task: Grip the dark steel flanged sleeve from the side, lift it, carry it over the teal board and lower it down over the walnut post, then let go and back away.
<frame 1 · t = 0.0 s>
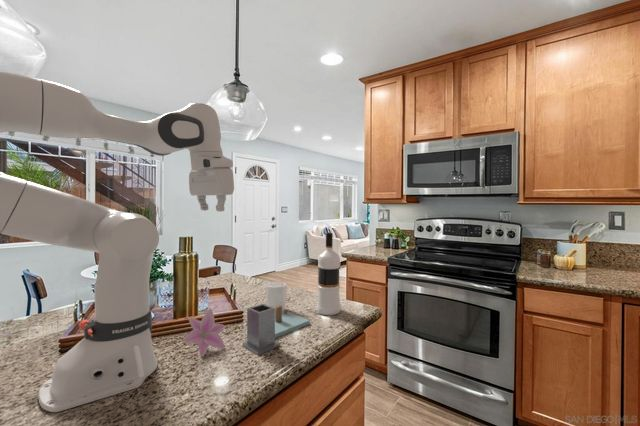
hand: (212, 210, 90), 39 cm above the counter, tool pointing down, fingers open, 8 cm apart
board: (278, 324, 103), on the counter
lily: (205, 349, 86), on the counter
vodka: (328, 312, 116), on the counter
white cup: (276, 310, 117), on the counter
sleeve: (261, 345, 88), on the counter
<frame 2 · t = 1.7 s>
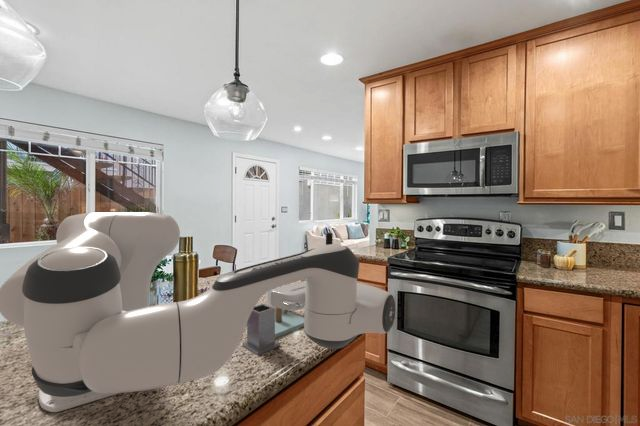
hand: (289, 284, 78), 20 cm above the counter, tool horizontal, fingers open, 8 cm apart
nothing on the counter moved.
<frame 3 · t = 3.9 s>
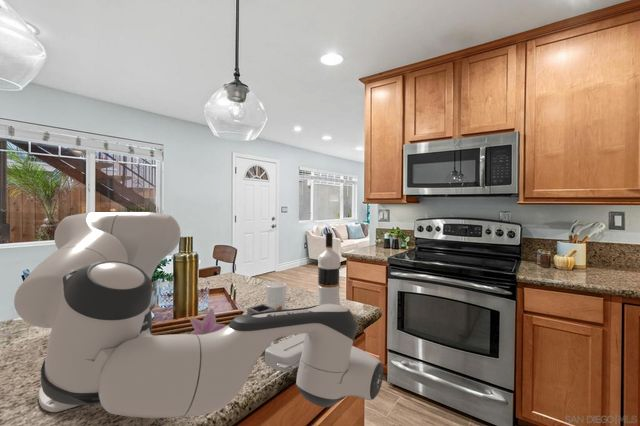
hand: (282, 336, 82), 6 cm above the counter, tool horizontal, fingers open, 8 cm apart
nothing on the counter moved.
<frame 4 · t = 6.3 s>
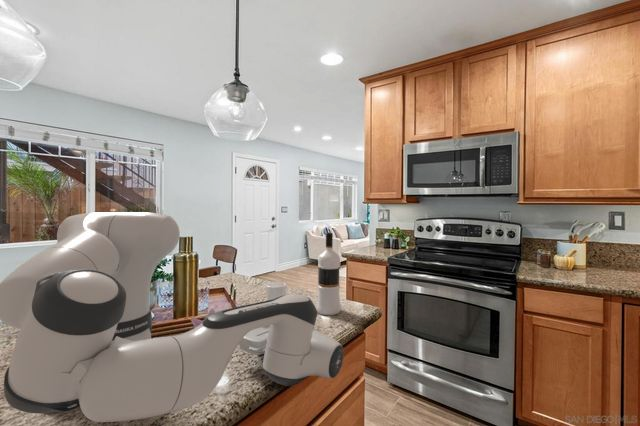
hand: (259, 324, 89), 6 cm above the counter, tool horizontal, fingers closed on sleeve, 6 cm apart
sleeve: (261, 345, 88), on the counter, touching gripper
everything else where it was.
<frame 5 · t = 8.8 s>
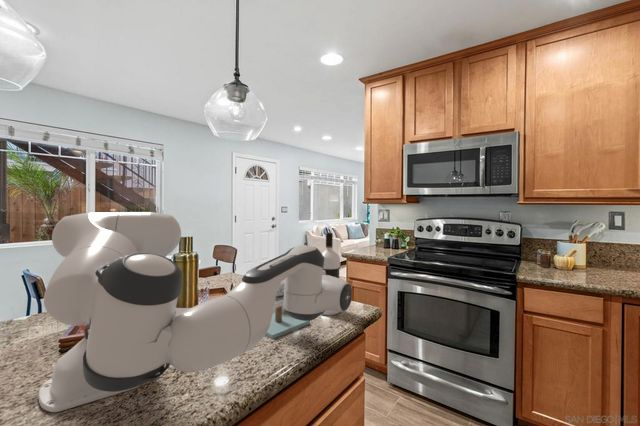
hand: (276, 277, 100), 17 cm above the counter, tool horizontal, fingers closed on sleeve, 6 cm apart
sleeve: (278, 296, 99), point 11 cm above the counter, touching gripper
everything else where it was.
when the fingers open (8 cm above the counter, at t = 11.7 s): sleeve drops 1 cm, resting on board.
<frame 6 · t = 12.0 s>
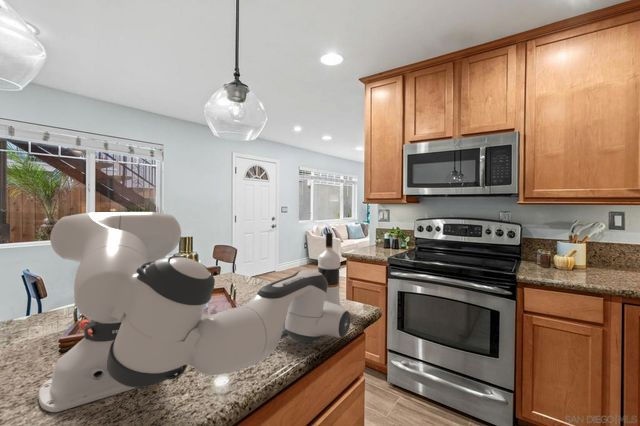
hand: (277, 299, 103), 8 cm above the counter, tool horizontal, fingers open, 8 cm apart
sleeve: (278, 321, 103), point 1 cm above the counter, touching board
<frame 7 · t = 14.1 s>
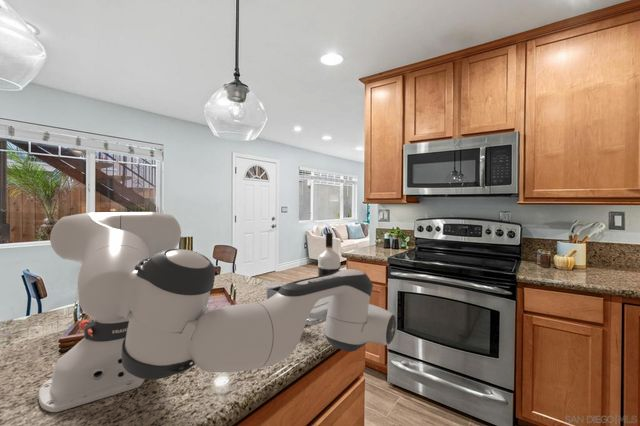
hand: (306, 301, 94), 11 cm above the counter, tool horizontal, fingers open, 8 cm apart
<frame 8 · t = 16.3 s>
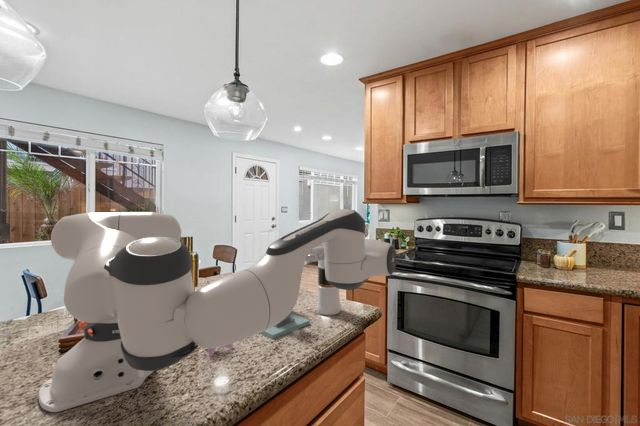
hand: (306, 246, 93), 28 cm above the counter, tool horizontal, fingers open, 8 cm apart
at the end: sleeve 0.1 cm off-centre on the board, point 1.2 cm above the board's base; sleeve tilted 0°; the gripper is holding nothing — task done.
